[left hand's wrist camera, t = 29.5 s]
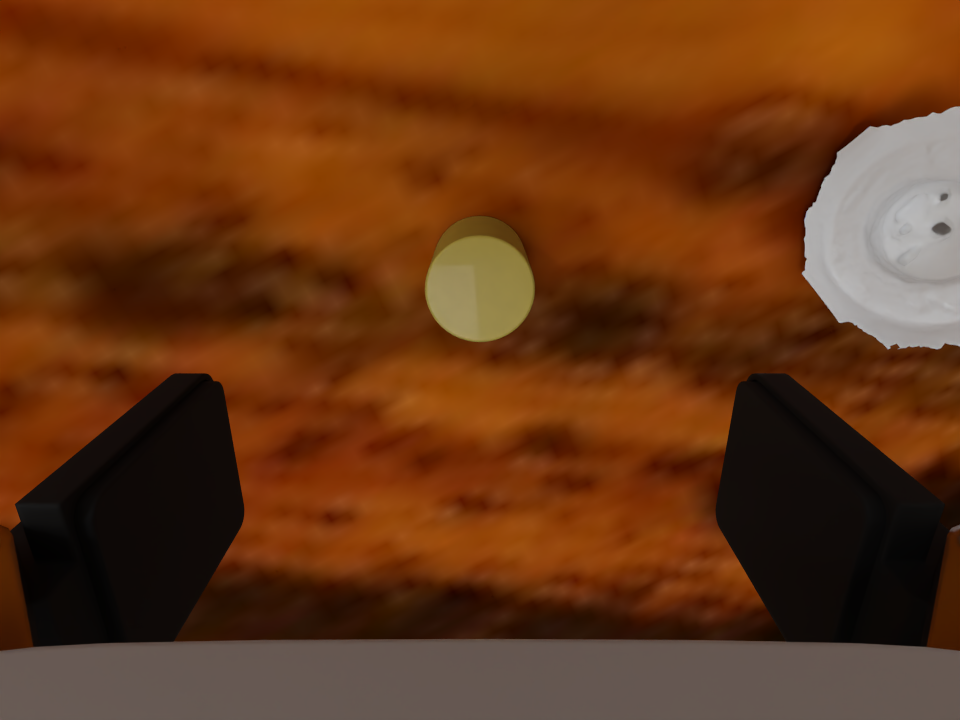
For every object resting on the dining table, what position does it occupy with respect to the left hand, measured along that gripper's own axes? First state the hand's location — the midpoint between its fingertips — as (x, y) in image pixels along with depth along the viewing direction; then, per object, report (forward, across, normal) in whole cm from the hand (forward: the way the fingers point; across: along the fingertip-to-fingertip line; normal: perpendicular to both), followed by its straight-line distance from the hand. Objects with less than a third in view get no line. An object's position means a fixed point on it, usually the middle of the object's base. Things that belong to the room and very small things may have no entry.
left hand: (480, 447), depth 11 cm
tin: (+15, 0, 0) cm, 15 cm away
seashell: (+15, +16, +2) cm, 22 cm away
